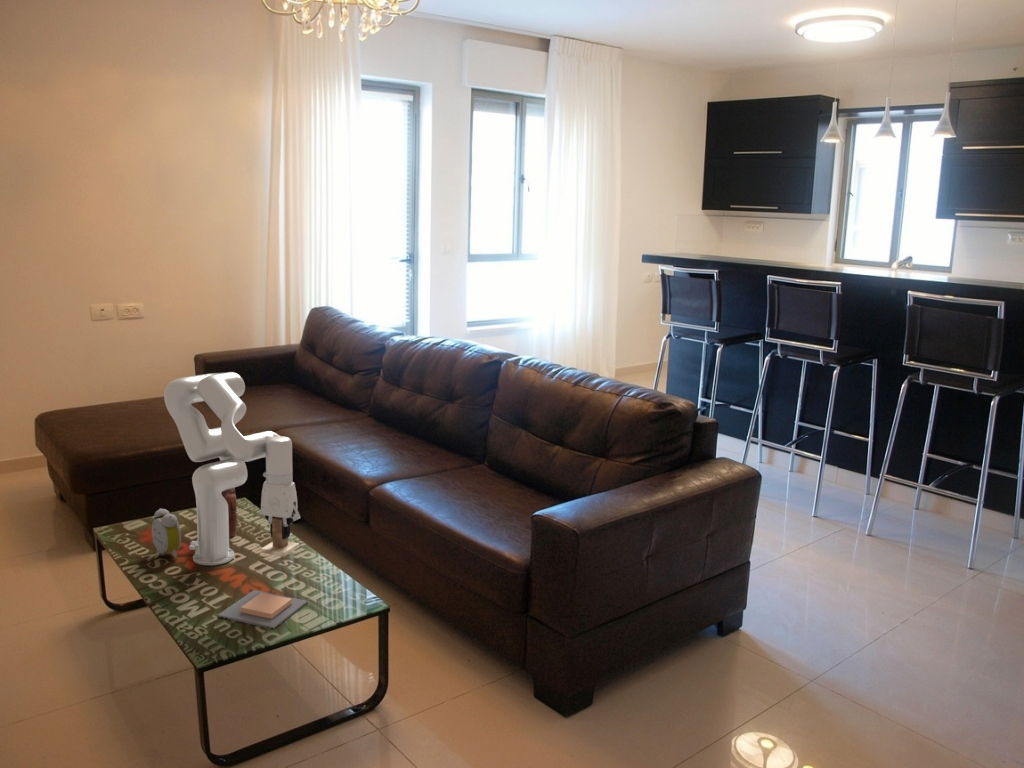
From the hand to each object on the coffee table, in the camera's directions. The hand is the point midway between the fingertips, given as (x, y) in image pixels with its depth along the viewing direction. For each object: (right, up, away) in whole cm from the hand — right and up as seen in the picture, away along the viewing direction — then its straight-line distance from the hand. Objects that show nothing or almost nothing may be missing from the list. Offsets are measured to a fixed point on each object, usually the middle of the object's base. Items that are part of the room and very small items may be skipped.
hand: (280, 536), depth 248 cm
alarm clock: (-43, -10, +19) cm, 48 cm away
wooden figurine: (-30, -6, +41) cm, 52 cm away
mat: (-1, -18, -13) cm, 23 cm away
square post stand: (0, -4, +1) cm, 4 cm away
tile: (0, -17, -14) cm, 22 cm away
